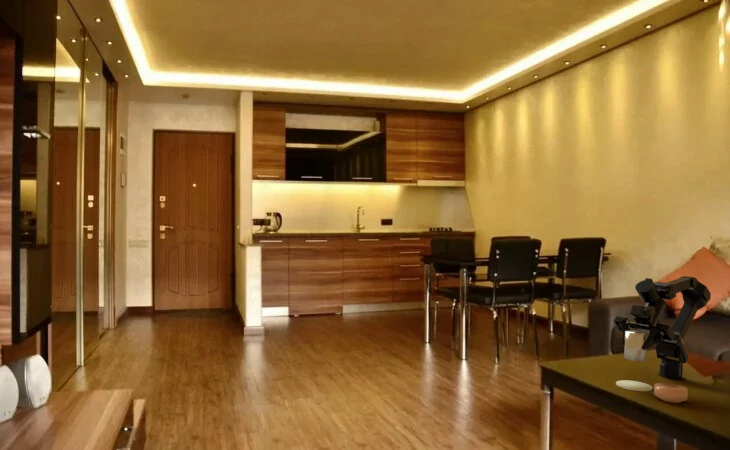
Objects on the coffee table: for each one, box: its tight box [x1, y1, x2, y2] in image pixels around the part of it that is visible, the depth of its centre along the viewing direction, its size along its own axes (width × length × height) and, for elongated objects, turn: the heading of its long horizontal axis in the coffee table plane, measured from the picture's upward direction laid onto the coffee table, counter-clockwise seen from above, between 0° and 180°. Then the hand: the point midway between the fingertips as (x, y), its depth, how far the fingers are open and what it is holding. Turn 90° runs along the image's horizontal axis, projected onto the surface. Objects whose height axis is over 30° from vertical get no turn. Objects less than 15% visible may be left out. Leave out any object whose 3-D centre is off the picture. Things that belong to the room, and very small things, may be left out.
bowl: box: [653, 382, 688, 404], centre depth 172 cm, size 9×9×4 cm
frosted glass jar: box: [623, 329, 648, 362], centre depth 185 cm, size 7×7×9 cm
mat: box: [615, 379, 653, 393], centre depth 185 cm, size 11×11×1 cm
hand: (633, 347), depth 184 cm, fingers closed on frosted glass jar, 7 cm apart
